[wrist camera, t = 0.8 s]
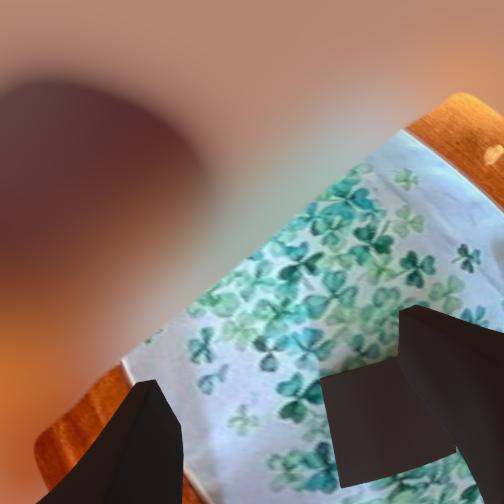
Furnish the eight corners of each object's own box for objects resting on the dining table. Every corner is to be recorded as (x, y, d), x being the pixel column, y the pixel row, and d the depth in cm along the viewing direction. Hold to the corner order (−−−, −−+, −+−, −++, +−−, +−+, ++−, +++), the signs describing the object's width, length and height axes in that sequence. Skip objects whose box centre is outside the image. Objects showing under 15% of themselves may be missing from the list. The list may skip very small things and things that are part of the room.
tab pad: (472, 437, 16) (482, 440, 14) (341, 480, 18) (340, 488, 16) (451, 338, 19) (459, 333, 18) (321, 378, 21) (319, 378, 19)
